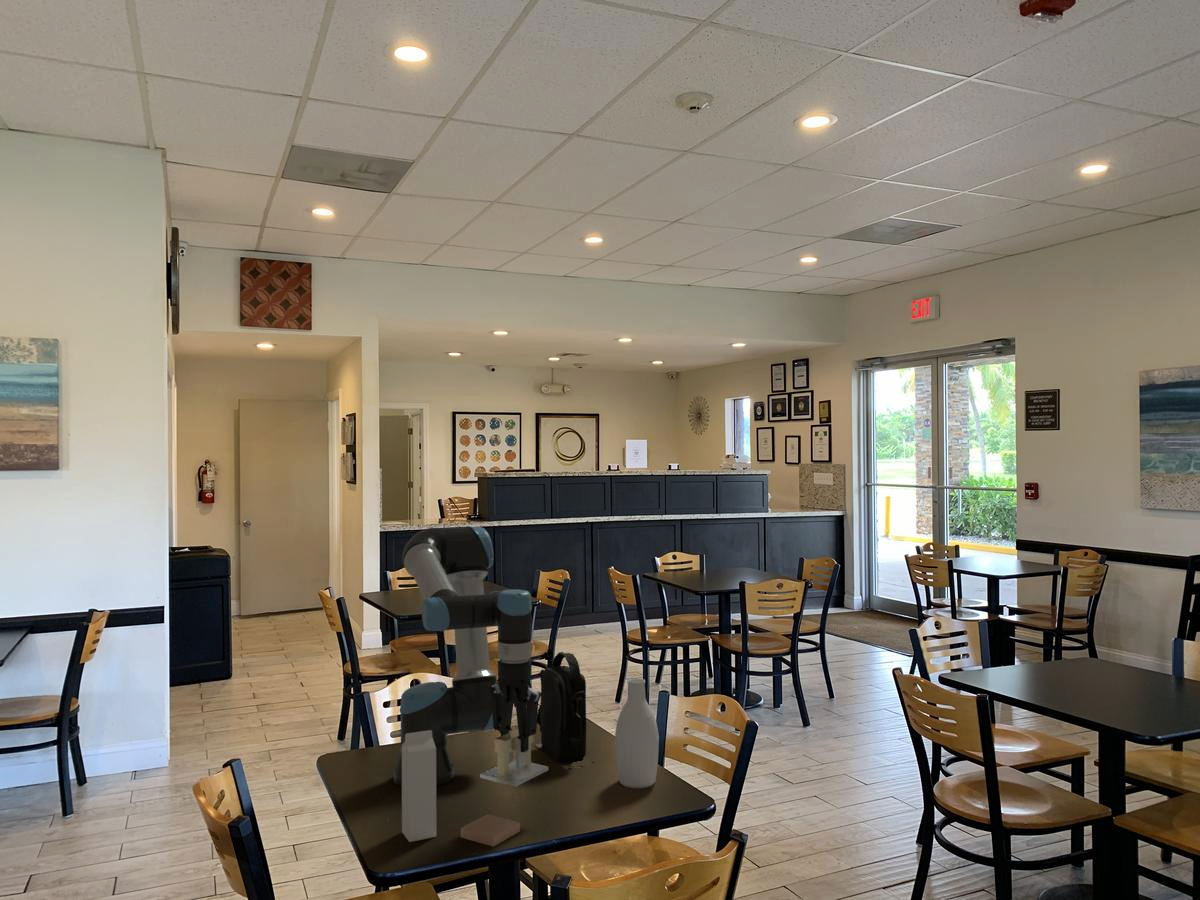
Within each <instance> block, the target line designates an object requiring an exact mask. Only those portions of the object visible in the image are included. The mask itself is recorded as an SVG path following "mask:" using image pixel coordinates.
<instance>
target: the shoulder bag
mask: <svg viewBox="0 0 1200 900" xmlns="http://www.w3.org/2000/svg"><path fill="white" fill-rule="evenodd" d="M564 659H565V660H566V662H567V664H568V666H567V665H562V662H563V660H564ZM539 675H540V676H539V678H540V692H541V697H540V702H539V703H540V704H539V706H538V716H537V725H539V732H540V733H541V735H540V737H541V738H540V741H541V743H537V744H535V746H536V748H538V749H539V750H541V751H542V752H543V754H545V755H547V756H548V757H549V758H550V759H551V760H553V761H554V762H555V763H557V765H559V766H560V767H562V768H563V769H564V770H566V771H567V770H569V769H568V768H572V769H578V768H580V767H578V768H577V767H575V766H571V764H572V763H573V762H577V761H582V760H584V759H583V758H584V757H585V756H586V753H587V703H586V702H587V682H586V678H585V676H584V675H583V674H581V669H580V664H579V662H578V659H577V658H576V657H575V655H574V653H570V652H563V651H561V652H558V653H557V654H556V655H555V656H554V658H553V660H552V666H548V668H544V669H541V670H540V671H539ZM566 766H567V767H566ZM573 767H575V768H573Z"/></svg>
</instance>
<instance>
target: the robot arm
mask: <svg viewBox="0 0 1200 900" xmlns="http://www.w3.org/2000/svg"><path fill="white" fill-rule="evenodd" d="M494 556H495V555H494V548H493V543H492V540H491V536H490V534H489V533H488V531H487V530H486V529H485V528H484V527H480V526H471V525H468V526H456V527H455V526H453V527H451V526H450V527H428V528H426V529H422V530H421V531H419V532H417V533H416V534H414V535H413V536H412V537H410V539H409V540H408V541H407V543H406V544H405V546H404V549H403V551H402V564H403V567H404V569H405V571H406V572H407V574H409V575H410V576H411V577H413V578H414V581H415V583H416V585H417V587H418V589H419V592H420V594H421V595H422V598H423V602H422V607H421V620H422V625H423V627H424V629H425V630H426V631H427V632H428V631H429V632H438V631H439V632H445V631H452V630H453V631H454V642H455V657H456V658H455V659H456V671H457V672H456V675H455V676H454V677H453V678H452V680H451V684H452V685H451V687H448V685H447V684H446V683H445V682H442V681H430V682H424V683H423V682H422V683H419V684H416V685H413V686H411V687H408V688H407V689H406V690H404V691H403V692H402V694H401V696H400V697H401V698H400V706H399V713H400V749H399V753H398V757H397V761H396V766H395V767H394V770H393V783H394V784H396V785H398V786H400V787H402V744H403V743H404V742H405V735H406V734H407V733H414V732H421V731H428V730H431V731H432V738H433V741H434V744H435V747H436V787H438V786H441V785H444V784H446V783H449V782H450V781H452V780H453V779H454V777H455V768H454V763H452V759H451V755H450V753H449V752H450V750H449V749H448V740H447V739H448V738H447V737H448V735H452V734H463V733H470V732H478V731H481V732H483V731H485V730H491V729H493V730H495V731H498V732H499V733H500V736H503V735H505V734H507V733H510V732H512V731H513V728H511V727H512V719H513V711H514V708H515V714H516V720H517V729H518V731H519V736H517V738H516V750H515V759H516V767H517V768H520V767H522V766H524V765H526V752H527V751H528V749H529V745H528V744H529V736H532V735H533V736H534V735H536V733H537V730H538V729H537V727H538V723H537V716H538V709H539V703H540V702H539V701H540V700H541V690H540V691H539V690H538V691H536V690H535V689H534V688H532V684H531V681H530V680H531V677H532V660H530V659H531V658H532V610H533V606H532V596H531V593H530V591H528V590H526V589H518V588H517V589H513V588H512V589H503V590H501V591H497V590H496V591H490V592H489V593H488V594H487V593H486V594H485V590H484V582H483V581H484V579H485V578H486V577H487V576H488V574H489V572H488V571H489V570H488V569H490V568H491V567H492V566H493V565H494ZM492 627H493V628H494V627H497V659H498V662H497V674H496V673H495V672H493V671H492V670H491V668H490V667H491V666H490V654H489V653H490V652H489V643H488V642H489V641H488V630H487V628H492ZM497 677H498V678H499V680H498V681H497ZM513 759H514V751H513V752H511V753H509V763H511V762H513Z"/></svg>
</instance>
